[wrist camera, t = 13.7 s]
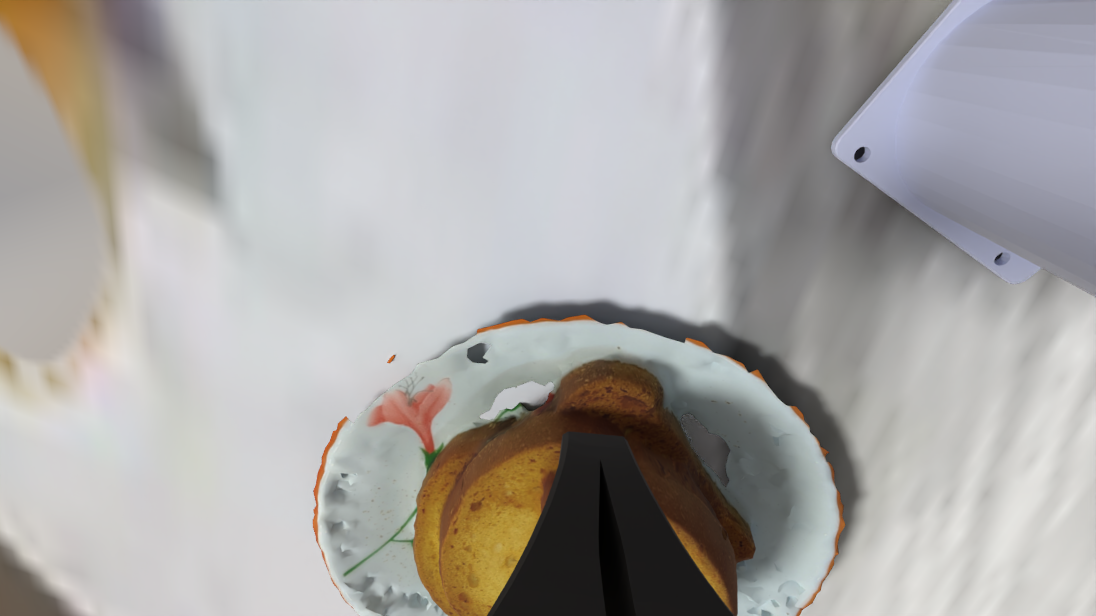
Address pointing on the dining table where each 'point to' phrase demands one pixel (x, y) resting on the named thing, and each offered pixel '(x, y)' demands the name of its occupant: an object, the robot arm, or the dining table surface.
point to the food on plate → (532, 460)
